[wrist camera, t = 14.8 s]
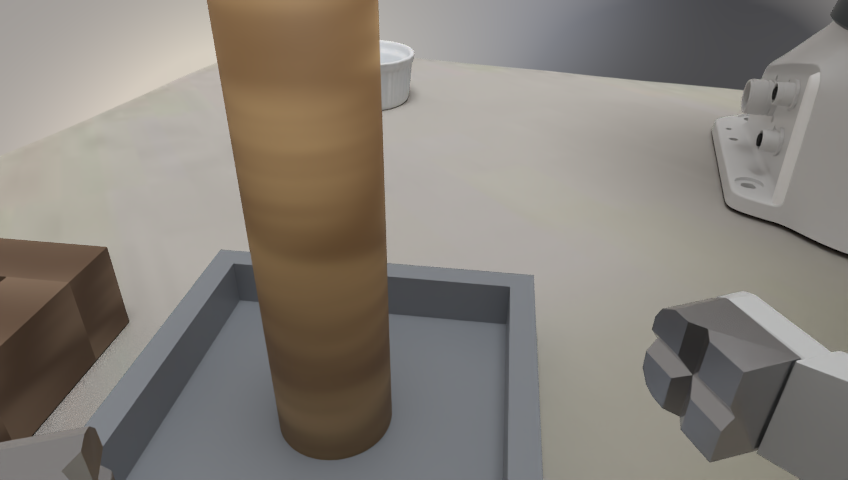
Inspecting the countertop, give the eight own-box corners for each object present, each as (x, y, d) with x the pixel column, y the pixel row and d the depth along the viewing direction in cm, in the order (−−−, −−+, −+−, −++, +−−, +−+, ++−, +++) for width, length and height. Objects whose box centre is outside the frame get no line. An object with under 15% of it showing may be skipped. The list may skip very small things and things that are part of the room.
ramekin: (359, 78, 61) (357, 33, 59) (433, 96, 57) (434, 48, 54) (294, 101, 55) (289, 52, 53) (371, 123, 50) (370, 70, 48)
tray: (230, 302, 29) (220, 249, 28) (526, 329, 28) (533, 275, 26) (37, 598, 17) (0, 534, 16) (535, 671, 16) (548, 608, 15)
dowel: (298, 370, 24) (233, -96, 16) (399, 379, 24) (389, -94, 15) (263, 453, 21) (157, -84, 12) (381, 465, 20) (353, -81, 12)
